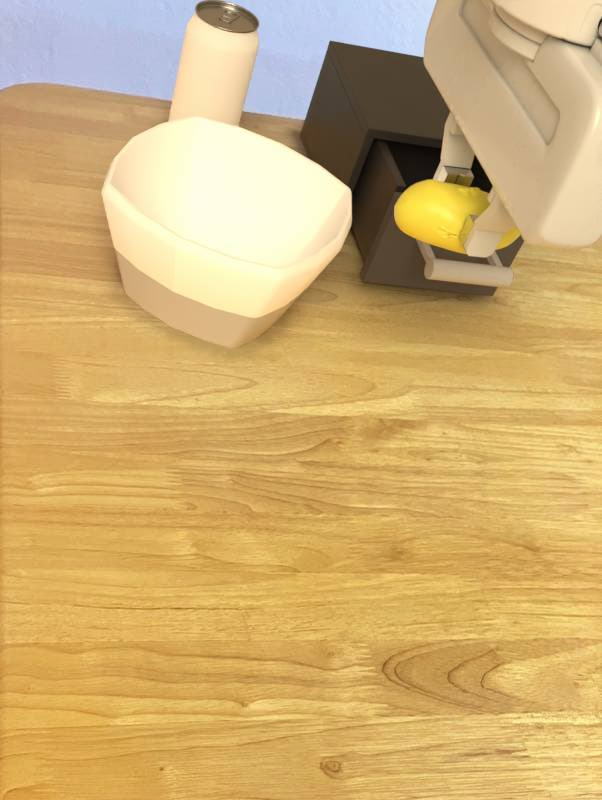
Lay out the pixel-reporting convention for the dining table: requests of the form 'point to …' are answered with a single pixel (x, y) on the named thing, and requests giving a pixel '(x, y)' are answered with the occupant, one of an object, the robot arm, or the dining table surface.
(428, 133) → the cabinet
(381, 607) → the dining table surface
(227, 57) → the can
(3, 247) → the dining table surface
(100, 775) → the dining table surface
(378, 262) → the drawer
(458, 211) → the lemon
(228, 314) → the bowl
